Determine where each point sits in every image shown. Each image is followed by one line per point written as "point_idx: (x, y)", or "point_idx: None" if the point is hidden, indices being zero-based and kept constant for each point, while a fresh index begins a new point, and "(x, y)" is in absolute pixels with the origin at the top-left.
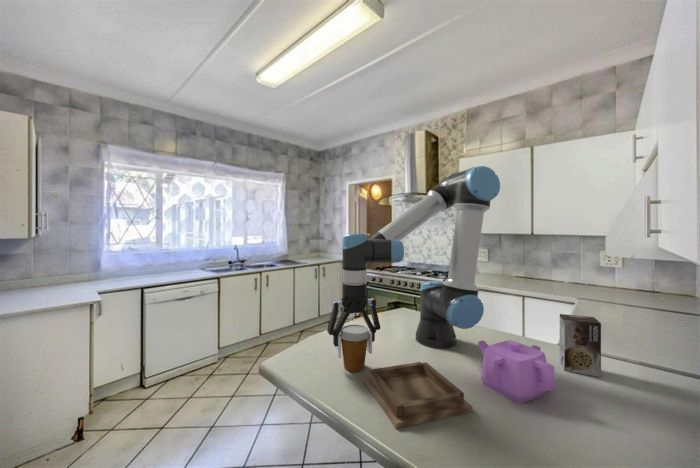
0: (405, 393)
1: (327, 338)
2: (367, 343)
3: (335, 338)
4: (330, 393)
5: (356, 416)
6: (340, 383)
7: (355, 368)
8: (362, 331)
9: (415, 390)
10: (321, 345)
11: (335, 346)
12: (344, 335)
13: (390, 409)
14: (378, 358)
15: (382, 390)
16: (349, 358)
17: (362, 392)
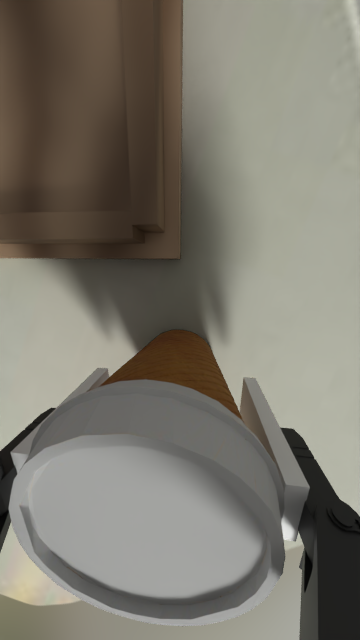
0: (62, 80)
1: None
2: None
3: (319, 483)
4: (329, 218)
5: (302, 11)
6: (265, 274)
7: (186, 334)
8: (74, 481)
9: (17, 94)
10: None
11: (290, 429)
12: (269, 479)
13: None
14: None
15: (156, 35)
16: (209, 357)
17: (212, 188)
